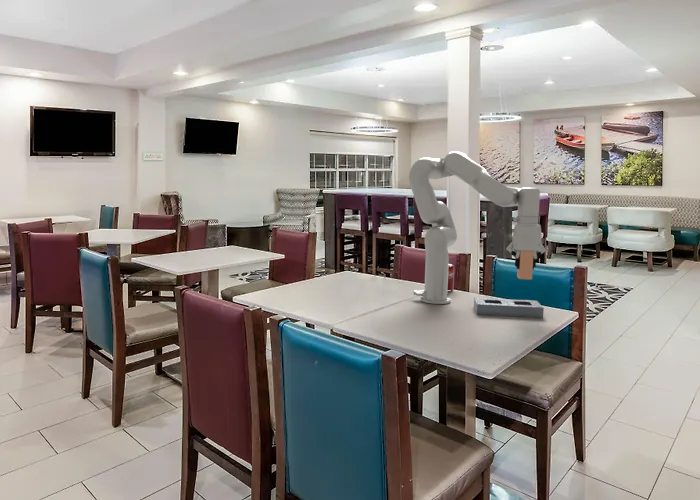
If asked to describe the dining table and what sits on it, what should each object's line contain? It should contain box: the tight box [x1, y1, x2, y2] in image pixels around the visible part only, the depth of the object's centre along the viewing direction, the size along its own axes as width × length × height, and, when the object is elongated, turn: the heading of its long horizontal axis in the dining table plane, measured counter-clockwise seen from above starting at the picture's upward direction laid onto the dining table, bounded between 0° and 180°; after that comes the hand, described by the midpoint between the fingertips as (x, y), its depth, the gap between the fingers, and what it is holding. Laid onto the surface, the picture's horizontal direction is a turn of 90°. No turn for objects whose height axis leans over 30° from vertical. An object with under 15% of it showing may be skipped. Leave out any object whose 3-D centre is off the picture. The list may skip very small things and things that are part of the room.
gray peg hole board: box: [473, 297, 545, 319], centre depth 195 cm, size 24×12×4 cm, turn 82°
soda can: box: [448, 263, 455, 291], centre depth 236 cm, size 7×7×12 cm
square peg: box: [516, 251, 534, 280], centre depth 192 cm, size 5×5×12 cm
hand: (525, 268), depth 192 cm, fingers closed on square peg, 4 cm apart
